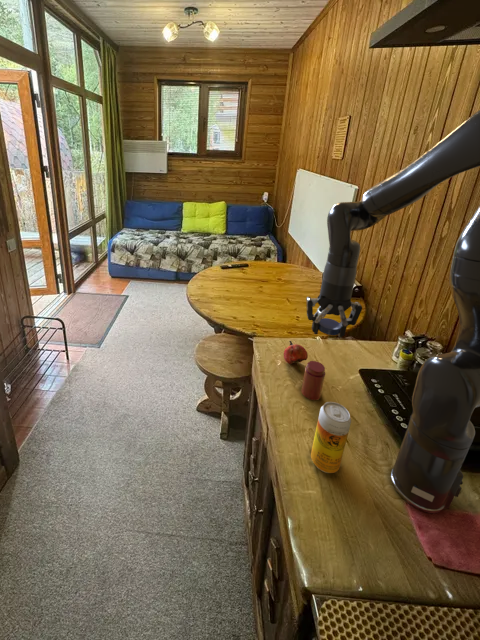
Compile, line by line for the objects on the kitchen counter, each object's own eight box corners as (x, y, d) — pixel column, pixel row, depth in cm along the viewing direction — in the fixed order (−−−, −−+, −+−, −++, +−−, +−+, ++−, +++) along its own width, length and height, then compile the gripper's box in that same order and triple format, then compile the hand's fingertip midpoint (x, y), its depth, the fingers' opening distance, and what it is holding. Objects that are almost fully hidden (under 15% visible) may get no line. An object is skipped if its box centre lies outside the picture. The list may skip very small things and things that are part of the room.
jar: (317, 386, 92) (322, 360, 89) (323, 400, 87) (329, 373, 84) (299, 385, 92) (303, 359, 89) (304, 399, 87) (309, 372, 84)
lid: (316, 321, 88) (317, 316, 88) (339, 326, 86) (340, 320, 86) (317, 332, 83) (318, 326, 82) (341, 337, 81) (342, 331, 81)
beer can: (313, 473, 68) (325, 421, 62) (307, 448, 73) (317, 398, 68) (342, 477, 67) (356, 425, 62) (334, 451, 72) (346, 402, 67)
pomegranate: (308, 373, 101) (301, 343, 106) (314, 368, 95) (306, 336, 100) (285, 374, 101) (279, 344, 107) (290, 369, 95) (283, 338, 100)
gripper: (311, 281, 77) (302, 338, 83) (373, 287, 75) (359, 346, 81) (307, 271, 84) (298, 324, 90) (363, 276, 82) (351, 330, 87)
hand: (327, 334), depth 85 cm, fingers closed on lid, 5 cm apart
